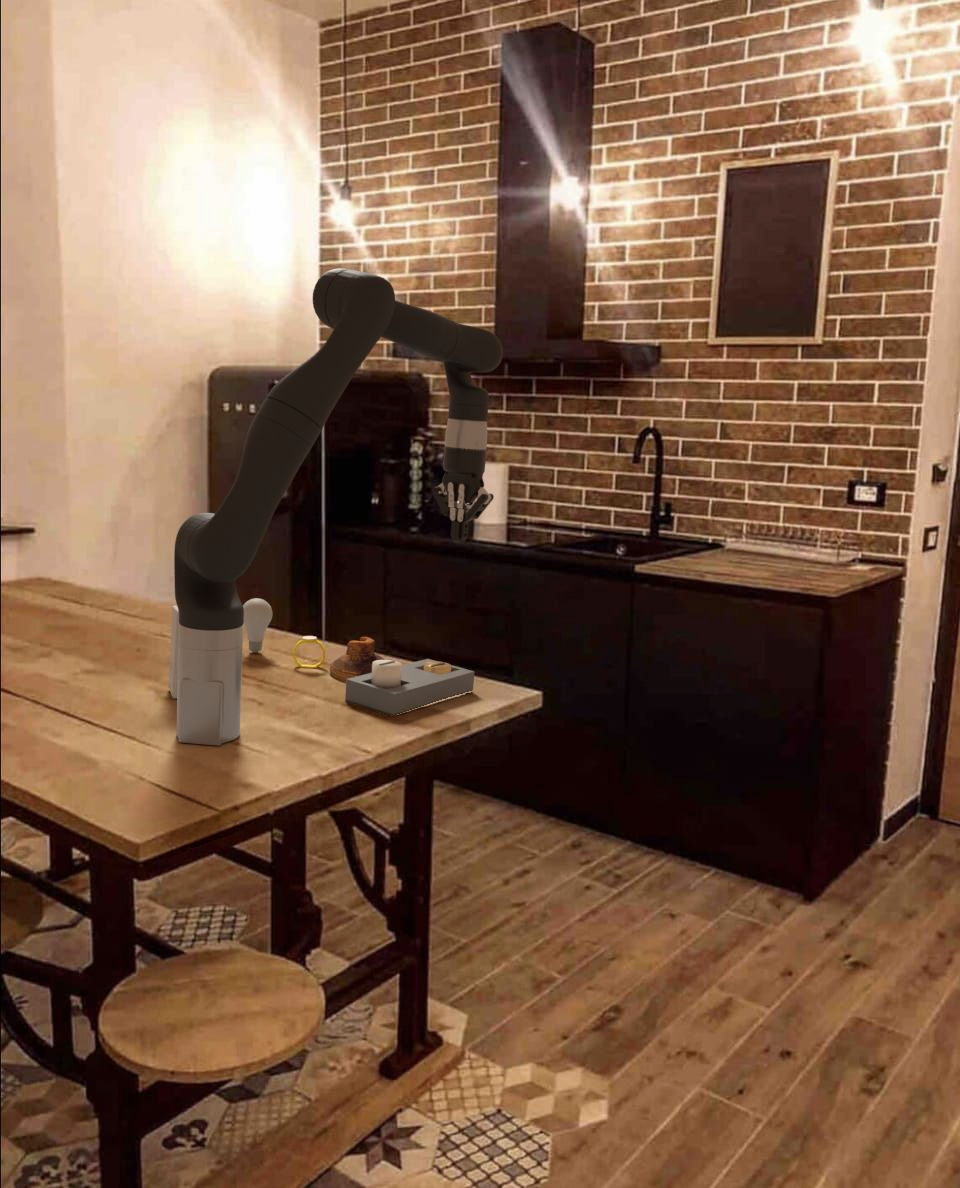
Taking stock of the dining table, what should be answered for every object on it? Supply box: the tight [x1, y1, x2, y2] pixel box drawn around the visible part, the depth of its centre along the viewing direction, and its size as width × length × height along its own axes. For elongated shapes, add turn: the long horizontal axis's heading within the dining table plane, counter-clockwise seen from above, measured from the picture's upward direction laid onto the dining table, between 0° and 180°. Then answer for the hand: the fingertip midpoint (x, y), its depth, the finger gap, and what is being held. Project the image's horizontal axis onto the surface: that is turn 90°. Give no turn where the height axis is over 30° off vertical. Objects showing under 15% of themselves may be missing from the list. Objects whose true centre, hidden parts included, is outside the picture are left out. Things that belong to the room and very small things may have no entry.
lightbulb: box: [242, 597, 274, 654], centre depth 199 cm, size 6×6×11 cm
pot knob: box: [371, 659, 403, 689], centre depth 172 cm, size 5×5×4 cm
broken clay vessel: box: [329, 636, 386, 682], centre depth 190 cm, size 12×12×7 cm
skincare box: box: [168, 605, 179, 699], centre depth 170 cm, size 8×6×15 cm
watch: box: [292, 635, 326, 669], centre depth 192 cm, size 6×3×6 cm, turn 96°
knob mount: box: [344, 658, 475, 717], centre depth 179 cm, size 22×11×4 cm, turn 143°
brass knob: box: [424, 660, 451, 675], centre depth 184 cm, size 5×5×4 cm
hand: (458, 541), depth 184 cm, fingers closed
